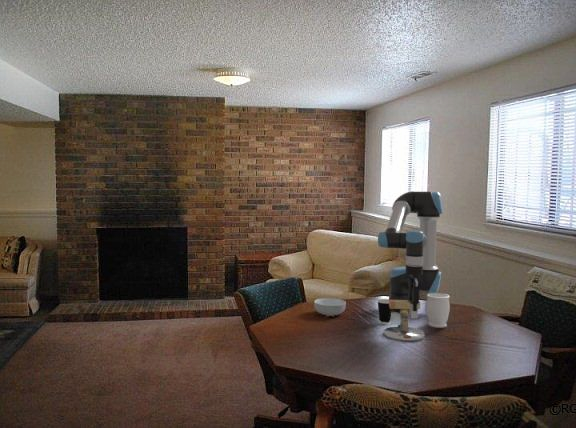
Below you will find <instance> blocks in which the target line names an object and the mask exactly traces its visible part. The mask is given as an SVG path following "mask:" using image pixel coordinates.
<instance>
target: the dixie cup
mask: <svg viewBox="0 0 576 428" xmlns="http://www.w3.org/2000/svg"><path fill="white" fill-rule="evenodd" d="M376 301H377V307H378V308H377V309H378V310H377V311H378V321H379V323H380V324H382V325H389V324H390V323H391V321H392V312H393V311H392V309H390V307H389V298H388V299H387V298H379V299H377V300H376Z"/></svg>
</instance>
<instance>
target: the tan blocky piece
mask: <svg viewBox="0 0 576 428" xmlns="http://www.w3.org/2000/svg"><path fill="white" fill-rule="evenodd" d="M410 302H412V300H389V307H390V309H401V312H400V317H408V318H409V312H408V309H411V304H410ZM420 309H421V302H420V301H419V303H418V310H420ZM408 327H409V319H408V320H403V330H405V331H408Z"/></svg>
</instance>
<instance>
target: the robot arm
mask: <svg viewBox="0 0 576 428" xmlns="http://www.w3.org/2000/svg"><path fill="white" fill-rule="evenodd" d="M442 198H443V197H442V195H441V193H440V192H439V191H408V192H404V193H403V194H401V195H399V196H398V197H397V198H396V199H395V201H394V202H393V204H392V208H391V210H392V212H391V216H390V217H389V220H388V222H387V225H386V228H385V231H380V232H378V235H377V236H378V237H377V244H378V247H380V248H385V249H402V250H403V249H405V257H404V260H405V264H406V265H405V266H397V267H394V268H392V269H390V275H389V278H390V279H389V297H388V299H389V300H412V302H410V304H411V309H408V316H410V317H411V319H418V316H419V315H418V312H419V311H418V310H419V309H418V303H419V302H420V293H426V294H427V293H428V294H430V293H439V289H440V286H441V285H440V284H441V279H442V272H441V271H439V269H440V268H439V267H438V265H437V260H436V259H437V222H438V220H439V218H440V216H441V215H442V214H444V213H443V212H444V211H443V210H444V208H443V199H442ZM409 214H416V217H417V218H418V220H419V230H408V231H406V232H402V231H403V228H404V225H405V222H406V219H407V216H409ZM392 312H394V313H401V309H392Z"/></svg>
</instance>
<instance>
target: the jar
mask: <svg viewBox="0 0 576 428" xmlns="http://www.w3.org/2000/svg"><path fill="white" fill-rule="evenodd" d="M426 294H427V293H426ZM426 297H427V300H426V312H427V320H428V321H429V322H428V326H429V327H432V328H437V329H438V328H439V329H442V328H447V326H448V325H447V322H448V319H449V316H450V315H449V314H450V308H451V307H450V301H449V300H450V299H451V298H450V297H451V296H450V295H449V294H447V293H439V292H437V293H428V294H427V295H426Z"/></svg>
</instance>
